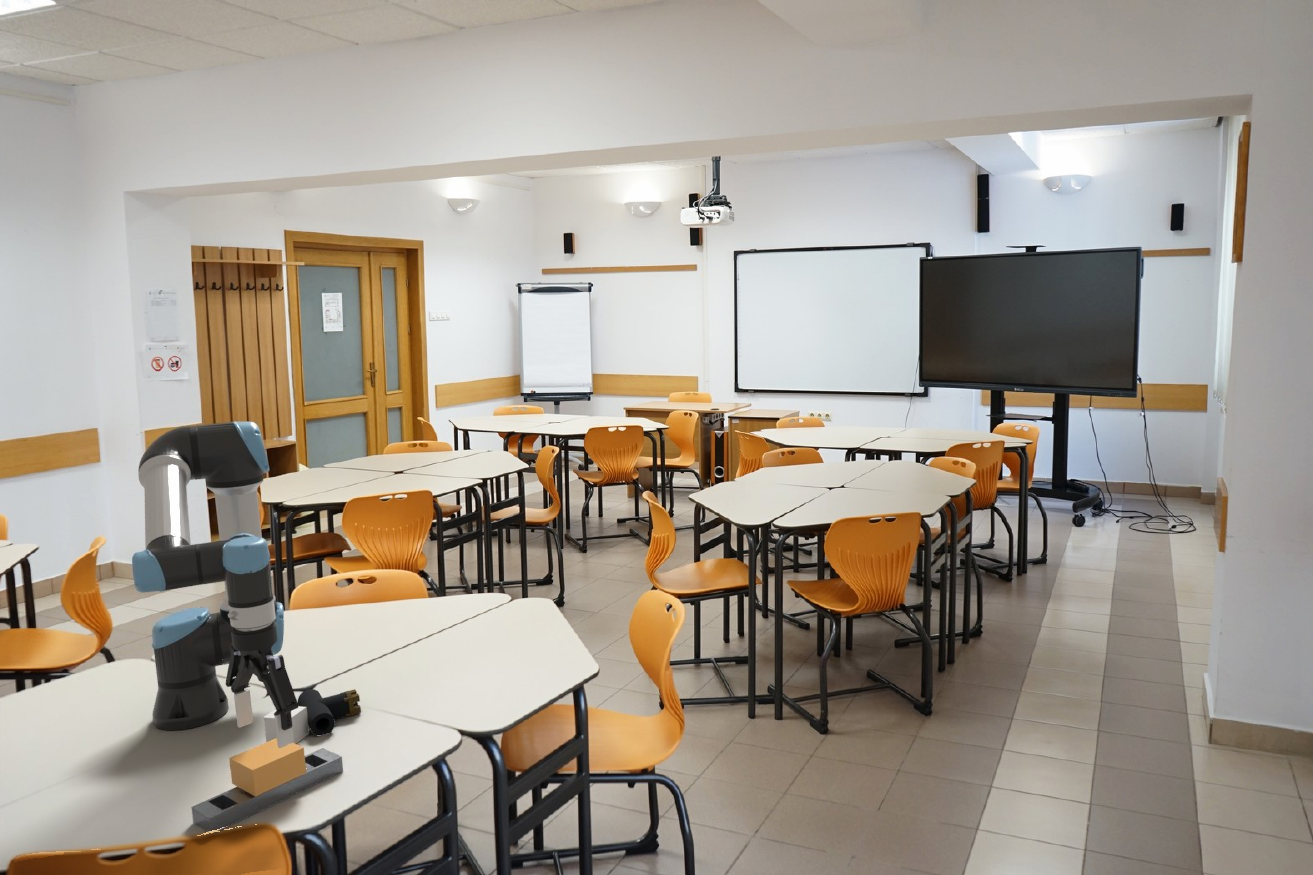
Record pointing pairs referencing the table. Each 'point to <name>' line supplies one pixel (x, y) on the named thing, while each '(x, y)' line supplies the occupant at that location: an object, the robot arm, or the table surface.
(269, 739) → the white cube
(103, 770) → the table surface
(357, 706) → the pipe connector
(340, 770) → the rail
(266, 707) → the table surface
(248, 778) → the tan notched block
